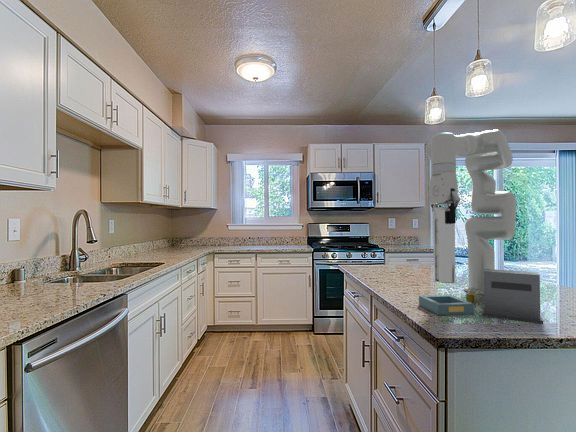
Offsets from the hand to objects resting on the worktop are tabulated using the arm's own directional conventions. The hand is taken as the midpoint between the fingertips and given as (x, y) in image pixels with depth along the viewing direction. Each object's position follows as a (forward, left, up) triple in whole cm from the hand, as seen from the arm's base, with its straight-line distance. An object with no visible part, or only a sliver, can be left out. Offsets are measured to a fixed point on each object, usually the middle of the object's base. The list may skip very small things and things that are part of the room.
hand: (444, 222), depth 107 cm
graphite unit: (-16, +9, -29) cm, 35 cm away
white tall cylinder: (0, 0, -20) cm, 20 cm away
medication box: (-17, -10, -30) cm, 36 cm away
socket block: (0, 0, -29) cm, 29 cm away
